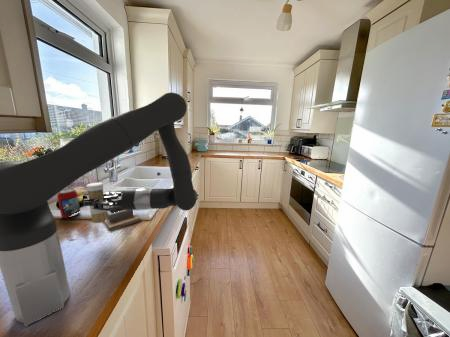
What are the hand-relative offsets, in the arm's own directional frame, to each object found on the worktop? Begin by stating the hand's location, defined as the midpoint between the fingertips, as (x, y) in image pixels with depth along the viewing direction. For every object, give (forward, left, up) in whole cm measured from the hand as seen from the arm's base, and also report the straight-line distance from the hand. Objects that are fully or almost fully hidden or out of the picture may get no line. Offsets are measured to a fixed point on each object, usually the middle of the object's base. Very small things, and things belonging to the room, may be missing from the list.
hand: (88, 199), depth 65 cm
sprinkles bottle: (-2, -2, -8) cm, 8 cm away
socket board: (+11, -11, -15) cm, 22 cm away
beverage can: (+28, +4, -16) cm, 33 cm away
